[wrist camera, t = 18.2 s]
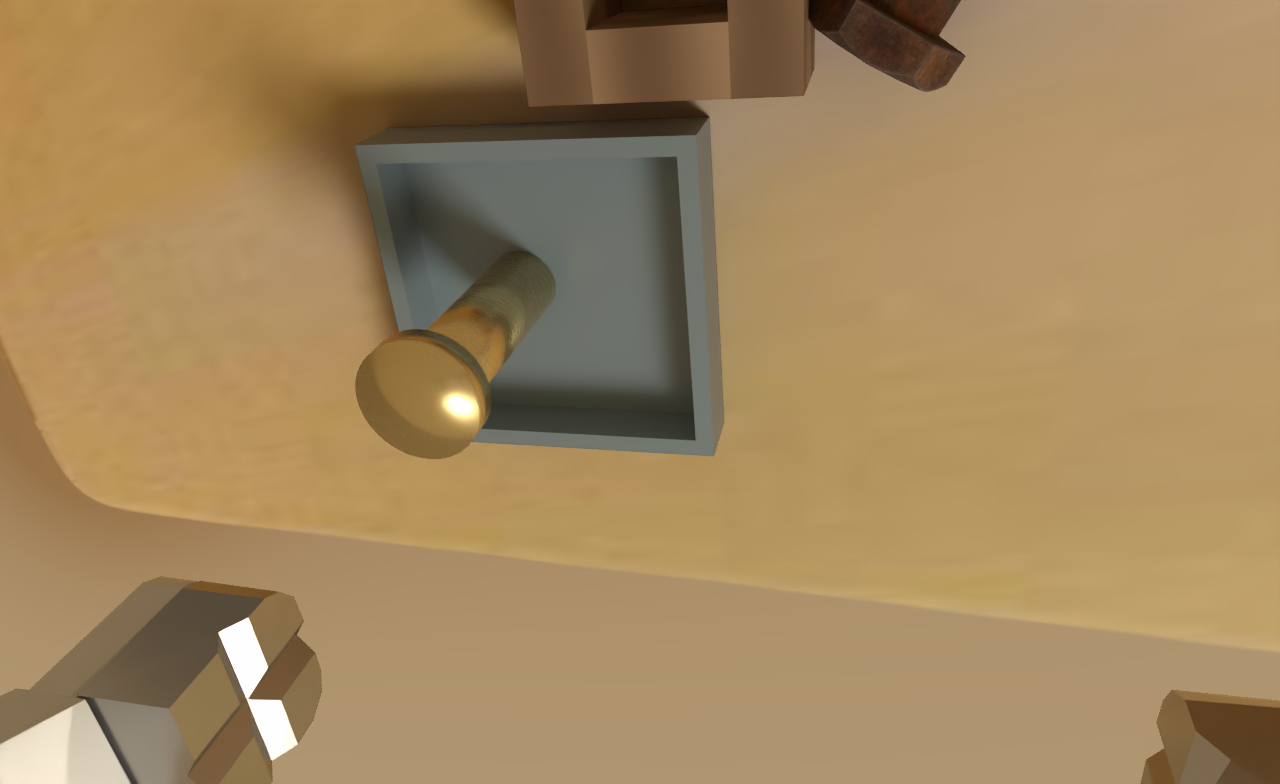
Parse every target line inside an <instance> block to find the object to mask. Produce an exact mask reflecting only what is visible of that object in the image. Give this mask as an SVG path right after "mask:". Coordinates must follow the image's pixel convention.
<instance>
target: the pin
mask: <svg viewBox="0 0 1280 784" xmlns="http://www.w3.org/2000/svg"><path fill="white" fill-rule="evenodd" d="M555 292H556V285H555V279H554V277H553V274H552V272H551V270H550V269H549V267H548V266H547V265H546V264H545V263H544V262H543V261H542V260H541V259H540V258H538V257H537V256H535V255H533V254H531V253H528V252H523V251H512V252H508V253H506V254H504V255H502V256H501V257H499V258H498V259H497V260H496V261H495V262H494V263H493V264H492V265H491V266H490V267H489V268H488V269H487V270H486V271H485V272H484V273H483V274H482V275H481V276H480V277H479V278H478V279H477V280H476V281H475V282H474V283H473V284H472V285H471V286H470V287H469V288H468V289H467V290H466V291H465V292H464V293H463V294H462V295H461V296H460V297H459V298H458V299H457V300H456V301H455V302H454V303H453V304H452V305H451V306H450V307H449V308H448V309H447V310H446V311H445V312H444V313H443V314H442V315H441V316H440V317H439V318H438V319H437V320H436V321H435V322H434V323H433V324H432V325H431V326H430V327H429V328H428V329H427V330H423V329H409V330H403V331H400V332H397V333H395V334H393V335H391V336H389V337H388V338H387V339H385V340H384V341H383V342H382V343H381V344H380V345H379V346H378V347H377V348H375V349H374V350H373V351H372V352H371V353H370V354H369V355H368V356H367V357H366V358H365V359H364V360H363V362H362V364H361V365H360V367H359V370H358V372H357V376H356V384H355V387H356V396H357V401H358V404H359V407H360V409H361V411H362V413H363V415H364V417H365V419H366V420H367V422H368V423H369V425H370V426H371V427H372V428H373V430H374V431H375V432H376V433H377V434H378V435H379V436H380V437H381V438H383V439H384V440H385V441H386V442H388V443H389V444H390V445H392V446H393V447H395V448H397V449H398V450H400V451H403V452H405V453H407V454H410V455H413V456H416V457H420V458H427V459H441V458H447V457H450V456H453V455H455V454H458V453H459V452H461V451H462V450H464V449H465V448H466V447H467V446H468V445H469V444H470V443H471V441H472V440H473V439H474V437H475V436H476V435H477V433H478V432H479V431H480V429H481V428H482V426H483V425H484V424H485V422H486V420H487V418H488V416H489V413H490V409H491V390H490V386H489V383H490V381H491V380H492V379H493V377H494V376H495V375H496V374H497V372H498V371H499V370H500V368H501V367H502V366H503V365H504V363H505V362H506V361H507V360H508V358H509V357H510V356H511V354H512V353H513V352H514V351H515V349H516V348H517V347H518V345H519V344H520V343H521V342H522V340H523V339H524V338H525V336H526V335H527V334H528V333H529V331H530V330H531V329H532V327H533V326H534V325H535V324H536V322H537V321H538V320H539V319H540V317H541V316H542V315H543V313H544V312H545V311H546V310H547V308H548V307H549V306H550V304H551V303H552V301H553V299H554V297H555Z"/></svg>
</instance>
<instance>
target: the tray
mask: <svg viewBox="0 0 1280 784" xmlns="http://www.w3.org/2000/svg"><path fill="white" fill-rule="evenodd" d="M355 150H356V154H357V158H358V162H359V166H360V171H361V175H362V179H363V183H364V187H365V192H366V196H367V200H368V204H369V208H370V212H371V217H372V221H373V225H374V229H375V233H376V238H377V242H378V246H379V250H380V254H381V259H382V263H383V267H384V271H385V275H386V279H387V284H388V288H389V292H390V296H391V300H392V305H393V309H394V313H395V317H396V321H397V326H398V330H399V332H400V331H403V330H409V329H423V330H427V329H428V328H429V327H430V326H431V325H432V324H433V323H434V322H435V321H436V320H437V319H438V318H439V317H440V316H441V315H442V314H443V313H444V312H445V311H446V310H447V309H448V308H449V307H450V306H451V305H452V304H453V303H454V302H455V301H456V300H457V299H458V298H459V297H460V296H461V295H462V294H463V293H464V292H465V291H466V290H467V289H468V288H469V287H470V286H471V285H472V284H473V283H474V282H475V281H476V280H477V279H478V278H479V277H480V276H481V275H482V274H483V273H484V272H485V271H486V270H487V269H488V268H489V267H490V266H491V265H492V264H493V263H494V262H495V261H496V260H497V259H498V258H499V257H501V256H502V255H504V254H506V253H508V252H512V251H523V252H528V253H531V254H533V255H535V256H537V257H538V258H540V259H541V260H542V261H543V262H544V263H545V264H546V265H547V266H548V267H549V269H550V270H551V272H552V274H553V277H554V279H555V285H556V292H555V297H554V299H553V301H552V303H551V304H550V306H549V307H548V308H547V310H546V311H545V312H544V313H543V315H542V316H541V317H540V319H539V320H538V321H537V322H536V324H535V325H534V326H533V327H532V329H531V330H530V331H529V333H528V334H527V335H526V336H525V338H524V339H523V340H522V342H521V343H520V344H519V345H518V347H517V348H516V349H515V351H514V352H513V353H512V354H511V356H510V357H509V358H508V360H507V361H506V362H505V363H504V365H503V366H502V367H501V368H500V370H499V371H498V372H497V374H496V375H495V376H494V377H493V379H492V380H491V381H490V383H489V386H490V390H491V409H490V413H489V416H488V418H487V420H486V422H485V424H484V425H483V426H482V428H481V429H480V431H479V432H478V433H477V435H476V436H475V437H474V439H473V440H472V441H471V442H481V443H497V444H514V445H531V446H548V447H565V448H582V449H599V450H616V451H632V452H649V453H666V454H683V455H700V456H714V454H715V451H716V448H717V445H718V441H719V438H720V435H721V431H722V428H723V425H724V409H723V388H722V367H721V346H720V326H719V305H718V284H717V263H716V242H715V221H714V200H713V180H712V159H711V138H710V117H691V118H663V119H634V120H606V121H577V122H548V123H520V124H491V125H463V126H434V127H405V128H387V129H385V130H383V131H381V132H380V133H378V134H376V135H374V136H372V137H370V138H368V139H366V140H364V141H362V142H360V143H358V144H356V145H355Z"/></svg>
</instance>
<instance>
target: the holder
mask: <svg viewBox="0 0 1280 784" xmlns="http://www.w3.org/2000/svg"><path fill="white" fill-rule="evenodd" d="M809 2H810V0H727V4H726V5H711V6H696V7H680V8H665V9H650V10H635V11H622V8H621V0H514V7H515V14H516V21H517V28H518V35H519V42H520V49H521V56H522V63H523V70H524V77H525V84H526V91H527V98H528V105H529V107H536V106H561V105H586V104H611V103H637V102H662V101H687V100H712V99H737V98H762V97H788V96H804V94H805V91H806V89H807V86H808V84H809V81H810V78H811V76H812V73H813V71H814V39H815V28H814V27H813V25H812V24H811V23H810V20H809V18H808V17H809Z"/></svg>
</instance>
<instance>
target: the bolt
mask: <svg viewBox="0 0 1280 784" xmlns="http://www.w3.org/2000/svg"><path fill="white" fill-rule="evenodd" d="M960 1H961V0H810V2H809V17H808V18H809V20H810V23H811V24H812V25H813V27H814V28H815V29H817V30H818V31H819V32H821V33H822V34H824V35H825V36H826V37H828V38H829V39H830V40H832V41H833V42H835V43H836V44H837V45H839V46H840V47H842V48H844V49H845V50H847V51H848V52H850V53H851V54H853V55H854V56H856V57H857V58H859V59H860V60H862V61H863V62H865V63H866V64H868V65H870V66H872V67H874V68H875V69H877V70H879V71H881V72H883V73H885V74H887V75H889V76H891V77H893V78H895V79H897V80H899V81H901V82H903V83H905V84H908V85H910V86H912V87H914V88H916V89H919V90H921V91H925V92H929V91H933V90H937V89H939V88H941V87H943V86H946V85H947V83H948V82H949V80H950V79H951V77H952V76H953V74H954V73H955V71H956V70H957V68H958V67H959V66H960V64H961V63H962V61H963V60H964V58H965V55H964V54H963V53H961V52H960V51H959V50H957V49H956V48H954V47H953V46H952V45H950V44H949V43H948V42H946V41H945V40H944V39H942V38H941V37H940V36H939V34H940V33H941V31H942V29H943V28H944V26H945V25H946V23H947V21H948V20H949V18H950V17H951V15H952V13H953V12H954V10H955V9H956V7H957V6H958V4H959V2H960Z"/></svg>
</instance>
